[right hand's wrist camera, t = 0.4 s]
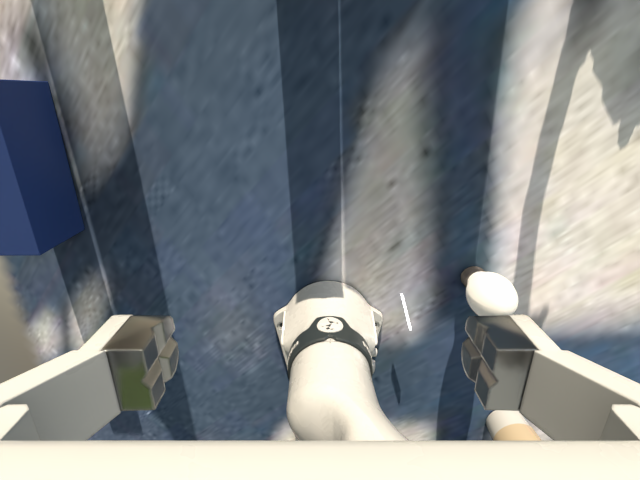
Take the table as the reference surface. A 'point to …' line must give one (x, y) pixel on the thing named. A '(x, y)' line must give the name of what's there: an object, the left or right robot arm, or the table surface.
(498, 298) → the light bulb
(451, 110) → the table surface
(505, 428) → the coffee cup
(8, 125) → the box
